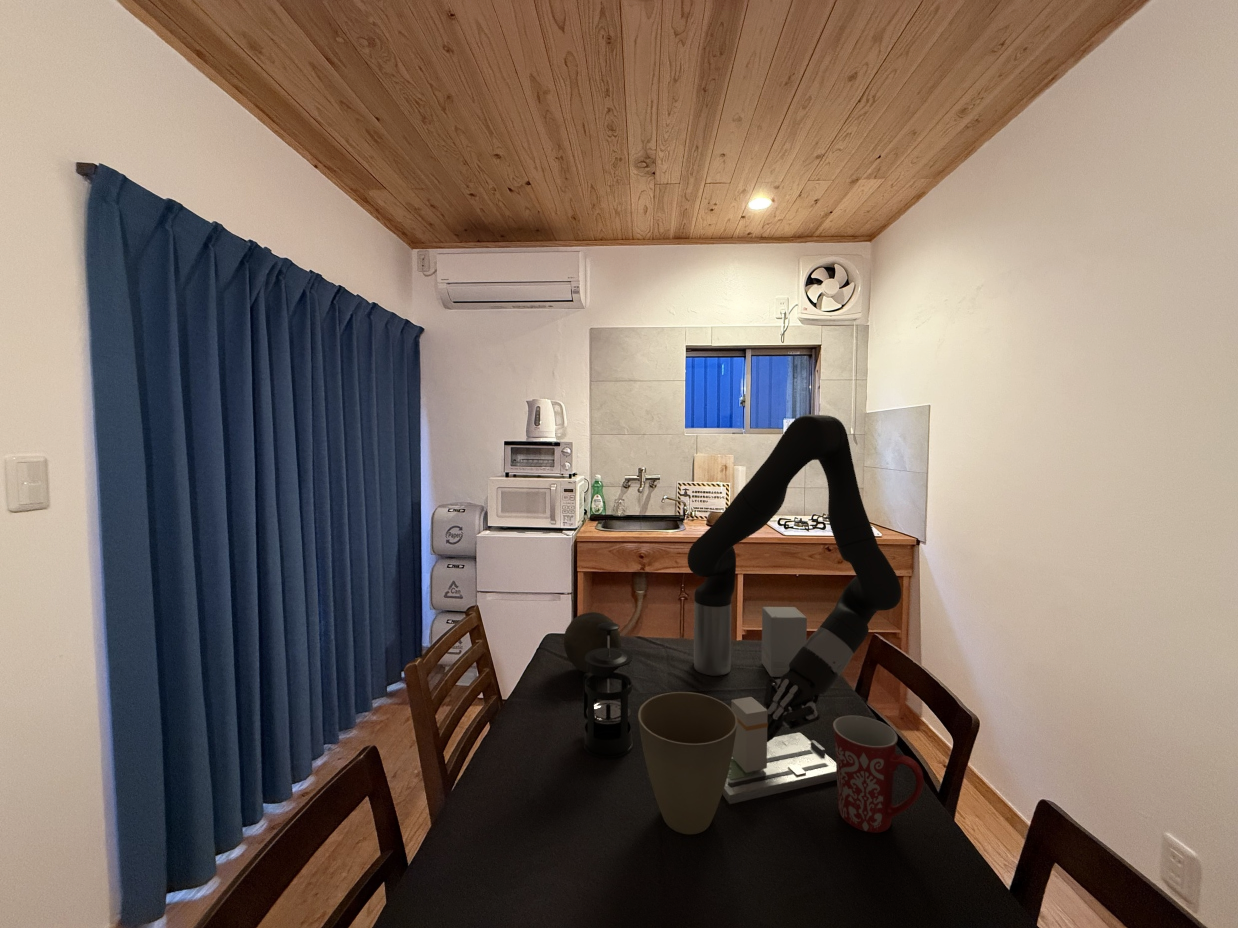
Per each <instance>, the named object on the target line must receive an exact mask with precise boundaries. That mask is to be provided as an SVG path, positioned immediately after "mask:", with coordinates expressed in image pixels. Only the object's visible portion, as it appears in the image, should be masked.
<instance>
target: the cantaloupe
mask: <svg viewBox="0 0 1238 928" xmlns="http://www.w3.org/2000/svg"><path fill="white" fill-rule="evenodd" d="M607 622H610V623H615V622H614V620H613V619H611V618H610V617H608V616H607V615H605V614H604V613H601V612H596V611H591V612H590V611H589V612H585V613H581V614H579V615H577V616H576V617H575V618H573V619H572V620H571V621H570V622H569V624H568V626H567V627H566V629H565V631H564V635H563V646H564V648H563V649H564V651H565V654H566V657H567V659H568V661H569V662H570V663H571V664H572V665H573V667H575V668H576V669H577V670H578V671H580V672H582V673H584V674H586V673H589V671H588V670H587V662H586V661H585V655H586V654H587V653H588V652H590V651H592V650H595V649H599V648H608V636H607V635H606V631H603V630H600V629H598V625H599V624H602V623H607ZM621 637H622V636H621V634H620V631H619V629H617V630H614V631H611V635H610V648H618V649H622V639H621Z"/></svg>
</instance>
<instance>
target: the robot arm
mask: <svg viewBox="0 0 1238 928" xmlns="http://www.w3.org/2000/svg"><path fill="white" fill-rule="evenodd" d="M848 436H849V435H848V432H847V430H846V427H845V426H844V424H843V423H842V421H841V420H840V419H839V418H837V417H835V416H832V415H825V414H821V415H820V414H804V415H801V416H799V417H796V418H795V419H794V420H793V421H792V422H791V423H790V424H789V425H788V427H787V428H786V429H785V431H784V432H783V433H782V435H781V437H780V439H779V440H778V442H777V443H776V445H775V447H774V448H773V450H772V451H771V452H770V454H769V456H768V457H767V458H766V460H764V462H763V463H762V465H760V467H759V468H758V469H757V471H756V472H755V473H754V474H753V476H752V477H751V478H750V479H749V481H748V482H747V483H745V485H744V486H743V487H742V489H741V490H740V491H739V492H738V493H737V495H736V496H735V497H734V499H732V501H731V502H730V504H729V505H728V506H727V507H726V508H725V510H723V512H722V513H721V514H720V516H718V518H717V519H716V520H715V522H714V523H713V524H712V525H711V526H710V527H709V528H708V529H707V530H706V531H704V533H702V534H701V536H699V537H698V538H697V539H696V540H695V541H694V542H693V543H692V545H691V546H690V548H689V550H688V553H687V566H688V568H689V571H691V573H693V575H694V576H698V577H702V578H705V580H704V581H703V582H702V583H701V585H699V586H698V587H697V588H696V589H695V591H694V609H693V610H694V617H693V618H694V623H693V624H694V625H693V626H694V627H693V668H694V670H696V672H699V673H700V674H702V675H708V676H718V677H719V676H724V675H727V674H729V673H730V672H731V664H732V663H731V659H732V657H731V656H732V653H731V652H732V597H733V594H734V592H735V589H736V574H737V573H736V572H737V571H736V570H737V569H736V568H737V555H736V550H735V548H734V546H735V545H737V544H738V543H741V542H742V541H743V540H746V539H747V538H748V537H750V536H753V535H754V534H755V533H758V532H759V531H760V530H761V529H762V528H764V527H765V526H766V525H767V524H768V523H769V522H770V521H771V519H773V517H775V515H777V514H778V512H780V510H781V508H782V507H783V505H784V502H785V500H786V496H787V493H788V492H787V491H788V488H789V485H790V484H791V482H792V480H793V479H794V477H796V476H797V474H798V473H799V472H801V470H802V469H803V468H804V467H805V466H807V465H808V463H810V462H812V461H818V462H819V464H820V466H821V468H822V470H823V472H824V475H825V478H826V482H827V489H828V501H827V502H828V503H827V505H828V507H827V508H828V509H827V511H828V512H827V513H828V521H829V526H830V530H831V533H832V535H833V538H834V541H835V543H836V544H835V545H836V546H837V550H838V552H839V555H840V556H841V558H842V560H844V561H845V562H847V563H849V564H850V566H851V567H852V570H853V572H854V573H855V576H854V578H852V579H851V580H850V581H849V583H847V584H846V586H845V588H843V589H844V590H843V591H842V593H841V595H840V597H839V598H838V600H837V602H836V605H835V607H834V609H833V610H832V611H831V612H830V613H829V614H828V615H827V617H826V618H825V620H823V622H822V623H821V625H820V626H819V627H818V628H817V629H816V630H815V631H814V632H813V633H812V634H811V635H810V636H809V637H808V638H807V641H806V643H805V644H804V645H803V646H802V648H801V649H800V650H799V651H798V653H797V654H796V655H795V657H794V658H793V659H792V660H791V662H790V663H789V667H790V669H789V671H788V672H787V673H786V674H784V675H783V676H782V677H780V678H777V679H774V678H773V677H771V676H770V677H768V678H767V681H766V688H765V694H764V702H763V707H764V708H765V709H766V710H767V723H768V727H767V742H769V741H770V740H772V739H773V738H774V737H776V735H777V734H778V732H779V731H780V730H781V729H782V728H789V729H790V730H791V731H792V730H796V729H797V728H800V727H804V726H807V725H809V724H812V723H814V722H817V721H819V720H820V719H821V715H820V714H819V713H818V711H817V707H816V704H817V703H818V702H819V698H820V697H821V695H823V696H824V695H826V694H827V693H828V691H829V690H830V689H831V688H832V686H833V685H834V683H835V682H836V681H837V680H838V679H839V677H840V675H841V674H842V673H843V672H844V670H845V669H846V668H847V666H848V665H849V662H850V661H851V659H852V657H853V656H854V654H855V653H856V652H857V651H858V649H859V648H860V646H861V645H862V643H863V642H864V641H865V640H866V638H867V636H868V635H869V630H870V628H869V626H868V625H869V623H870V622H871V620H872V618H873V617H874V616H875V614H876V613H877V612H878V611H882V612H883V611H890V610H893V609H894V608H896V607H897V606H898V605H899V604H900V601H901V598H902V587H901V583H900V579H899V578H898V575H897V573H896V571H895V570H894V568H893V566H892V565H891V563H890V562H889V560H888V558H887V557H886V555H885V554H884V552H883V551H882V549H881V548H880V547H879V544H878V541H877V538H876V536H875V533H874V530H873V528H872V525H871V522H870V520H869V517H868V515H867V511H866V509H865V507H864V506H865V505H864V503H863V499H862V496H861V493H860V488H859V484H858V480H857V476H856V471H855V466H854V465H855V464H854V462H853V457H852V451H851V445H850V441H849V437H848Z"/></svg>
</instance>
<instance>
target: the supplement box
mask: <svg viewBox="0 0 1238 928" xmlns="http://www.w3.org/2000/svg"><path fill="white" fill-rule="evenodd" d="M761 610H762V613H761V614H762V615H761V616H762V617H761V664H762V665H763V666H764V668H765V670H766V671H767V672H768V674H769V676H770V677H772V678H773V677H775V678H776V677H777V678H779V677H780V678H781V677H782V676H783V675H784V674H786V673H787V672H788V671H789V669H790V667H789V663H790V662H791V660H792V659H793V658H794V657H795V655H796V654H797V653H798V651H799V650H800V649H801V648H802V646H803V645H804V644H805V643H806V641H807V640H808V638H807V635H808V632H807V630H808V617H806V616H805V614H803V613H802V612H801V611H800V610H798V609H797V607H796V606H763V607H762V609H761Z"/></svg>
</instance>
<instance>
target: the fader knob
mask: <svg viewBox="0 0 1238 928" xmlns="http://www.w3.org/2000/svg"><path fill="white" fill-rule="evenodd" d="M730 708H731V709H732V710H733V711H734V713H735V714H736V716H737V720H738V723H737V729H736V736H735V742H734V748H733V754H732V757H733V758H734V760H735V761H736V762H737V763H738V764H739V765H740V766H741V767H742V769H743V770H744V771H745V772H746V773H747V772H751V771H756V770H761V769H766V768H767V727H768V723H767V709H766V707H765V706H764V705H762V704H761V703H760V702H759V701H757V700H756V699H754V697H752V696H746V697H741V698H735V699H731V706H730Z"/></svg>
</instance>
